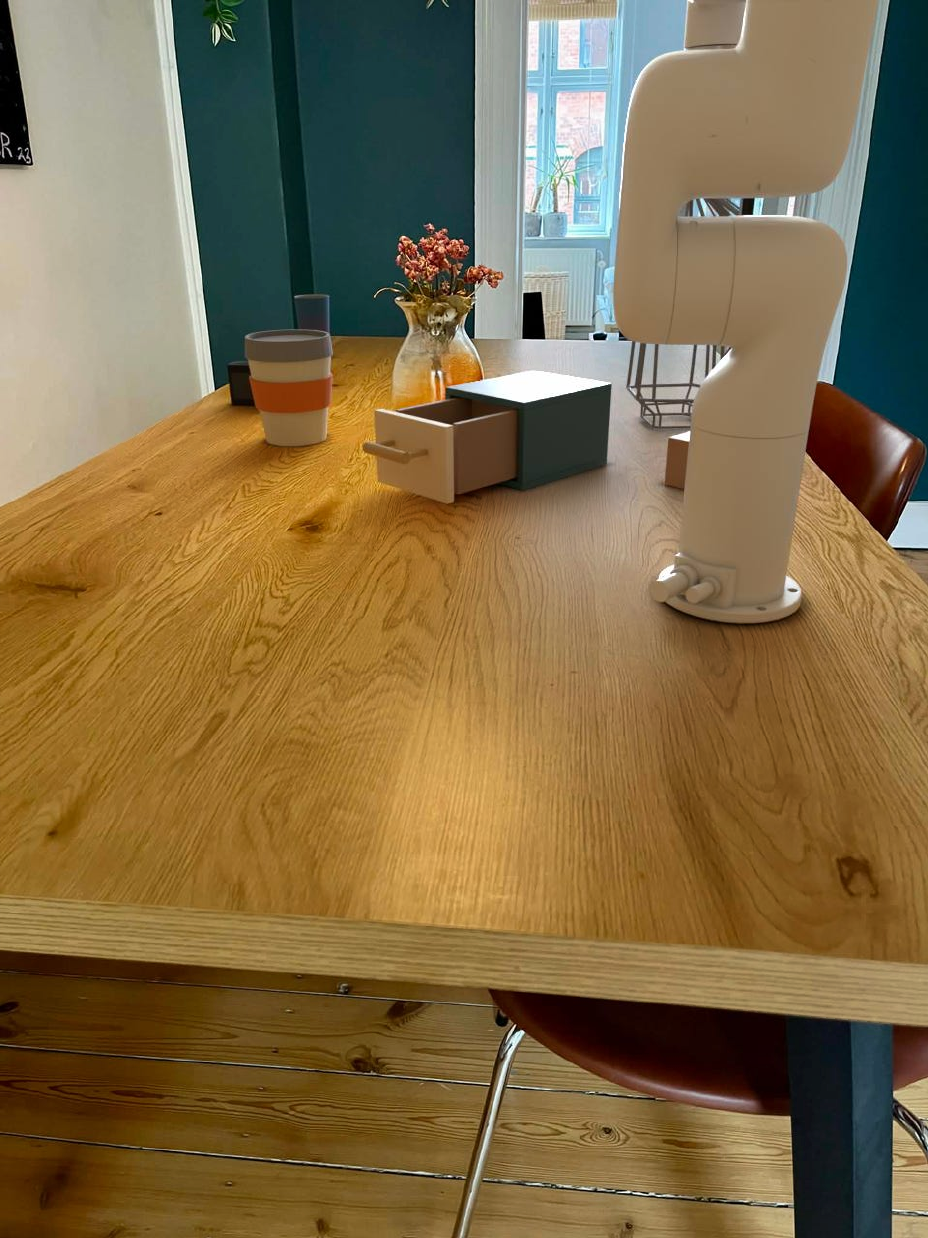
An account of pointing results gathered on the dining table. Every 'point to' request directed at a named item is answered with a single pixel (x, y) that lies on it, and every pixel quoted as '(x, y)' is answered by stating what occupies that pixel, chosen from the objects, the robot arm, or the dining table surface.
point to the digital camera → (240, 383)
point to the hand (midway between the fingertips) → (699, 233)
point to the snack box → (677, 460)
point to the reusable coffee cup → (291, 384)
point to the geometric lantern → (721, 211)
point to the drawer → (446, 447)
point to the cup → (312, 312)
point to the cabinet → (549, 422)
